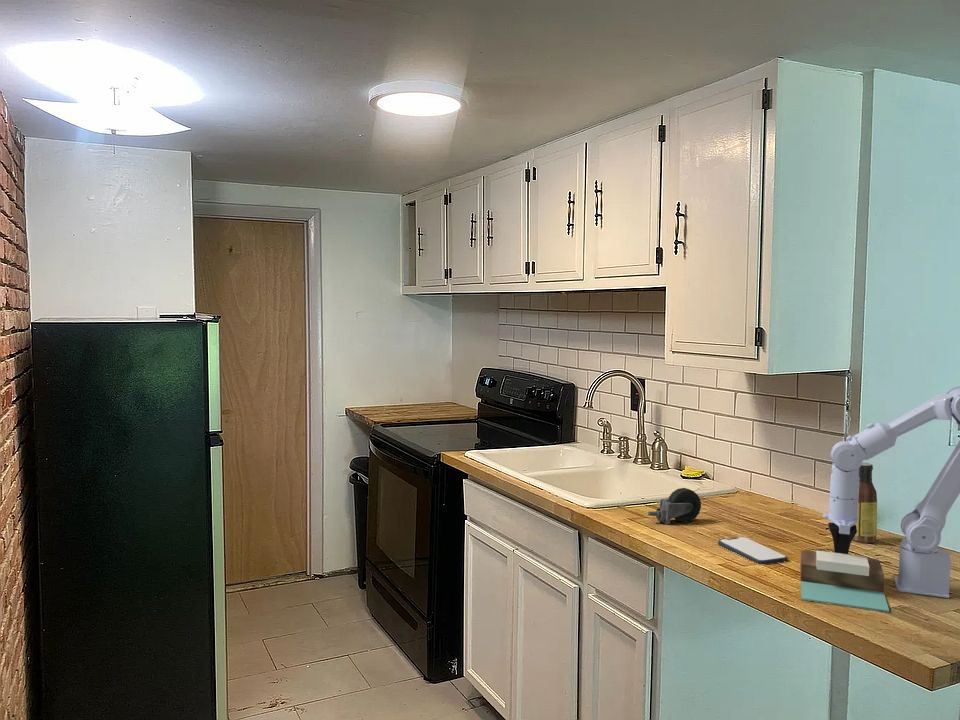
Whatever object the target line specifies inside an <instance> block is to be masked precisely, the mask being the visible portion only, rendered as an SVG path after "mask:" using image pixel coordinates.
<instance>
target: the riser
mask: <svg viewBox="0 0 960 720" xmlns="http://www.w3.org/2000/svg"><path fill="white" fill-rule="evenodd" d="M867 560H868V564H869V576H864V575H857V574H849V573H841V572H834V571H826V570H818V569H817V567H816V551H812V550H805V549H804V550H803V549H801V550H800V563H799V564H800V566H799V569H800V570H799V572H801V573H800V582H801V581H803V582H811V583H818V584H826V585H833V586H840V587H848V588H855V589H863V590H870V591H877V592H884V583H885V573H884V570H883V568H882V565H881V562H880V559H879V558H870V557H867Z"/></svg>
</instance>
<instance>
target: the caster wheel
mask: <svg viewBox="0 0 960 720" xmlns="http://www.w3.org/2000/svg"><path fill="white" fill-rule="evenodd" d="M701 508H702V501H701V498H700V496H699V494H697V493H696V492H695V491H694V490H692V489H689V488H686V487H682V488H681V487H680V488H677V489H674V491H672V493H670V495H669V497H668V498H665V499H664V498H661V499H659V507H657V508H656V510H655V511H648V512H647V516H649V517H650V516H651V517H655V518H656V520H657V522H658V521H659V522H662V523H663V524H665V525H670V524H671V520H673V519H674V520H676V521H678V522H680V523H688V522H691V521H693V520H695V519H696V518H697V517H698V516H699V514H700V513H701Z"/></svg>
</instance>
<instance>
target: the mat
mask: <svg viewBox="0 0 960 720" xmlns="http://www.w3.org/2000/svg"><path fill="white" fill-rule="evenodd" d="M800 593H801V594H800V595H801V601H804V600H805V601H806V600H807V601H806V602H811V601H814V602H813V603H818V602H821V604H825V603H830V604H829V605H832V604H838V605H837V606H839V605H842V606H841V607H846V606H848V608H853V607H856V608H855V609H860V608H862V609H861V610H867V609H869V610H868V611H876V612H881V613H890V609H889V606H888V605H889V604H888V603H887V599H886V596H885V592H884V591H883V592H877V591H870V590H863V589H855V588H848V587H840V586H833V585H826V584H818V583H811V582H803V581H801V580H800ZM843 605H844V606H843Z"/></svg>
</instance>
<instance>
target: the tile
mask: <svg viewBox="0 0 960 720" xmlns="http://www.w3.org/2000/svg"><path fill="white" fill-rule="evenodd" d="M815 552H816V567H817V569H818V570H826V571H834V572H841V573H849V574H857V575H864V576H869V564H868V560H867V558H868V557H867V556H865V555H855V554H849V553H848V554H841V553H835V552H834V551H833V552H832V551H826V550H816V551H815Z"/></svg>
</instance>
